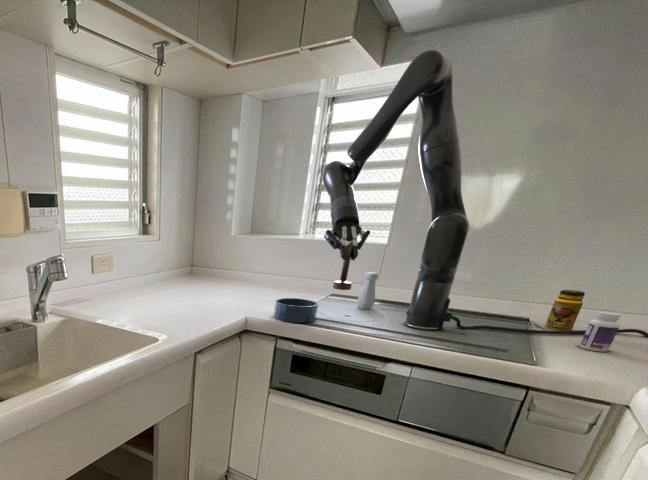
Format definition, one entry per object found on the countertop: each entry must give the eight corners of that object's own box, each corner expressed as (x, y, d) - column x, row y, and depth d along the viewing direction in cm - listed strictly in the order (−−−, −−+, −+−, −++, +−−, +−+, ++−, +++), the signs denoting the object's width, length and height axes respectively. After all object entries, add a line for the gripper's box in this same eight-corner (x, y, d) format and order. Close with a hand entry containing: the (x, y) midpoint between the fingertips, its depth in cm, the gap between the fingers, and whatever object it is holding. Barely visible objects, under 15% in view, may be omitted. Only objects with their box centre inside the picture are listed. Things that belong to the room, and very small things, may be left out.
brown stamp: (350, 287, 127) (358, 243, 122) (351, 290, 122) (360, 244, 117) (332, 286, 128) (340, 242, 123) (332, 289, 124) (341, 243, 119)
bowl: (315, 315, 138) (317, 300, 136) (315, 325, 126) (318, 308, 124) (275, 312, 142) (277, 296, 140) (272, 321, 131) (274, 304, 128)
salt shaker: (375, 310, 147) (383, 274, 142) (358, 309, 148) (366, 273, 143) (370, 306, 152) (378, 271, 147) (354, 305, 153) (361, 271, 148)
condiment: (548, 331, 122) (564, 292, 118) (535, 324, 130) (550, 287, 125) (579, 334, 120) (596, 294, 115) (564, 327, 127) (580, 289, 123)
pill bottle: (613, 351, 105) (630, 314, 102) (599, 353, 104) (616, 316, 100) (587, 345, 110) (602, 310, 106) (574, 346, 109) (589, 311, 105)
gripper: (325, 204, 124) (330, 249, 117) (372, 204, 122) (379, 250, 116) (317, 222, 130) (321, 266, 124) (362, 223, 129) (368, 267, 122)
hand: (349, 258), depth 120 cm, fingers closed on brown stamp
